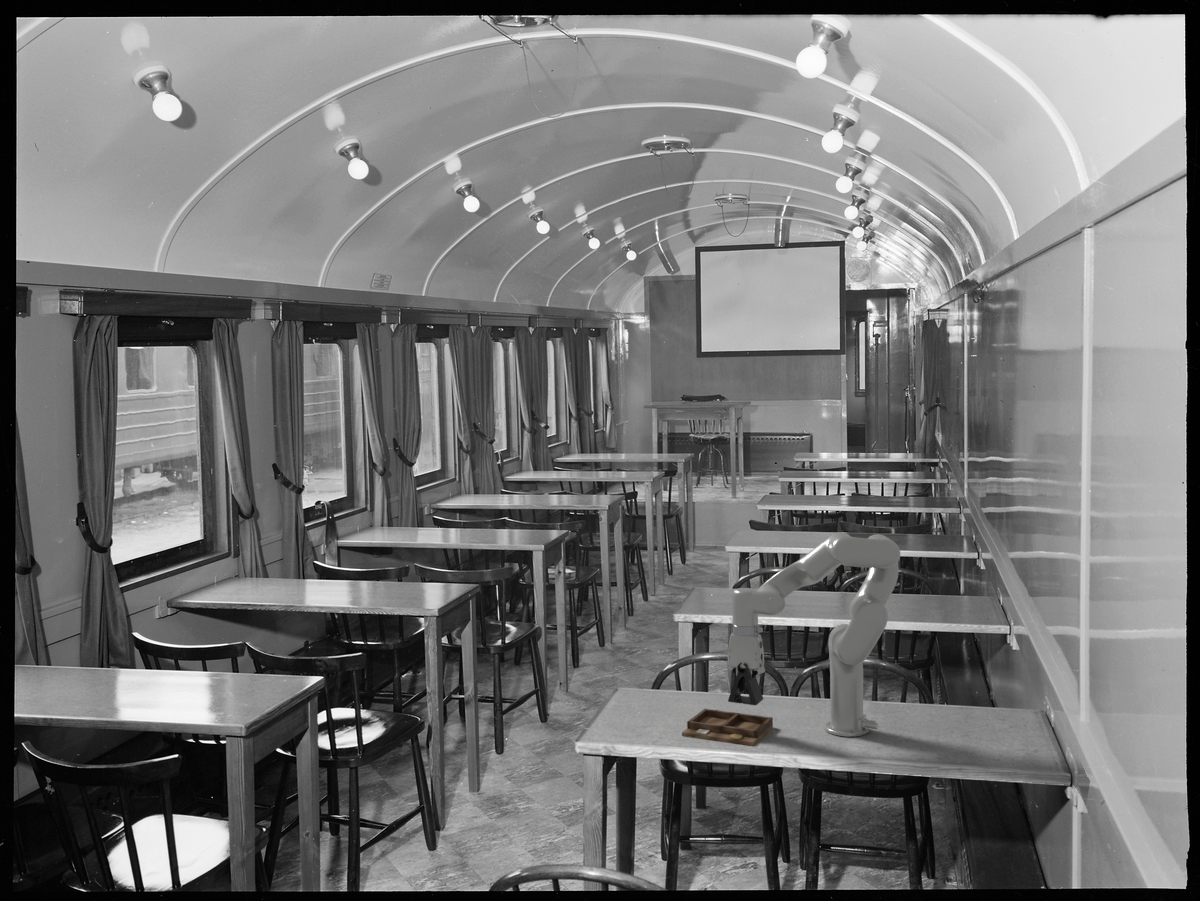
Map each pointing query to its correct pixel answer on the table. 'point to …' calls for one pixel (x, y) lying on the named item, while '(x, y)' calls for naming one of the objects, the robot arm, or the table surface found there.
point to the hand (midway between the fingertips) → (745, 690)
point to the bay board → (728, 726)
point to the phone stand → (752, 687)
